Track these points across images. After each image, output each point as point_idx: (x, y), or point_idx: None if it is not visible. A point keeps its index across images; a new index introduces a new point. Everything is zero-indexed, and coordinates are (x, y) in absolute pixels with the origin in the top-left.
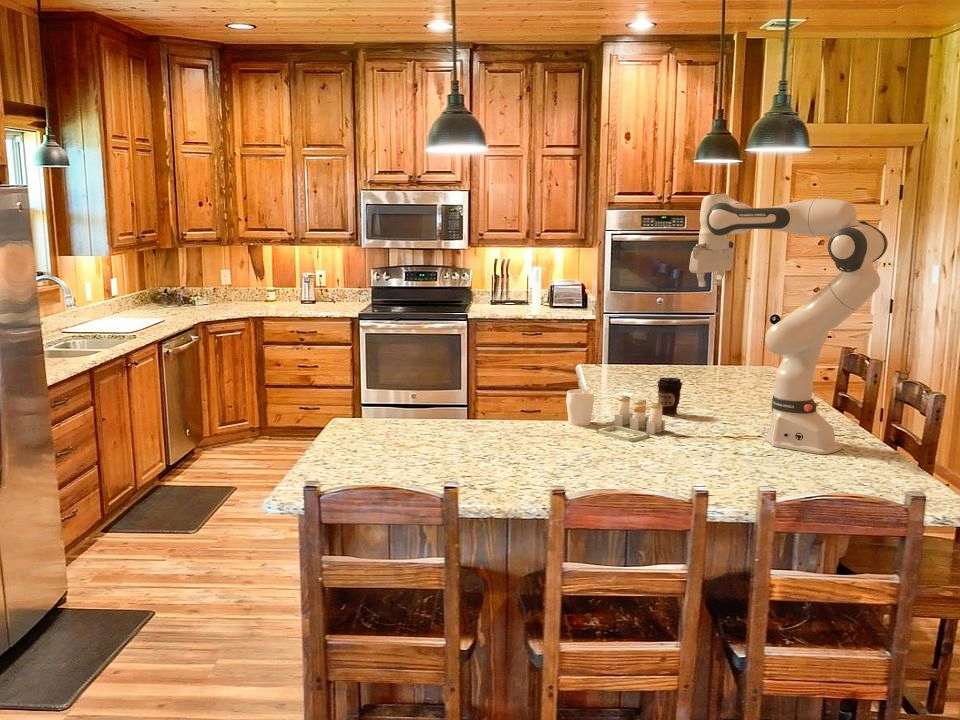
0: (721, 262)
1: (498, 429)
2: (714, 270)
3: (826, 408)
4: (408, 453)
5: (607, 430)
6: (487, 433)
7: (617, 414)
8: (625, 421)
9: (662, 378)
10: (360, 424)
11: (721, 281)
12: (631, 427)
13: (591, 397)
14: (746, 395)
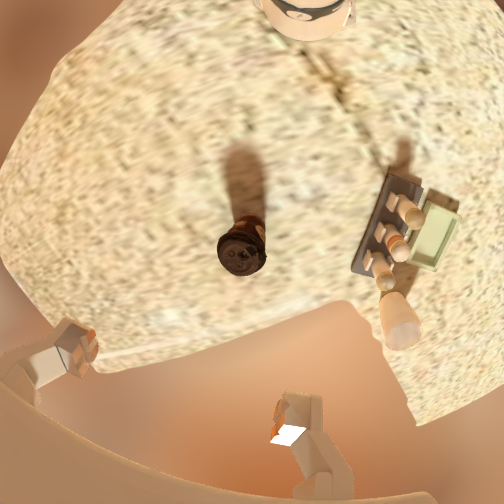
0: (4, 480)
1: (425, 355)
2: (156, 484)
3: (67, 60)
4: (498, 357)
5: (422, 262)
6: (441, 354)
7: None
8: (384, 256)
9: (243, 272)
10: (429, 415)
11: (58, 331)
12: None
13: (410, 317)
14: (65, 178)
